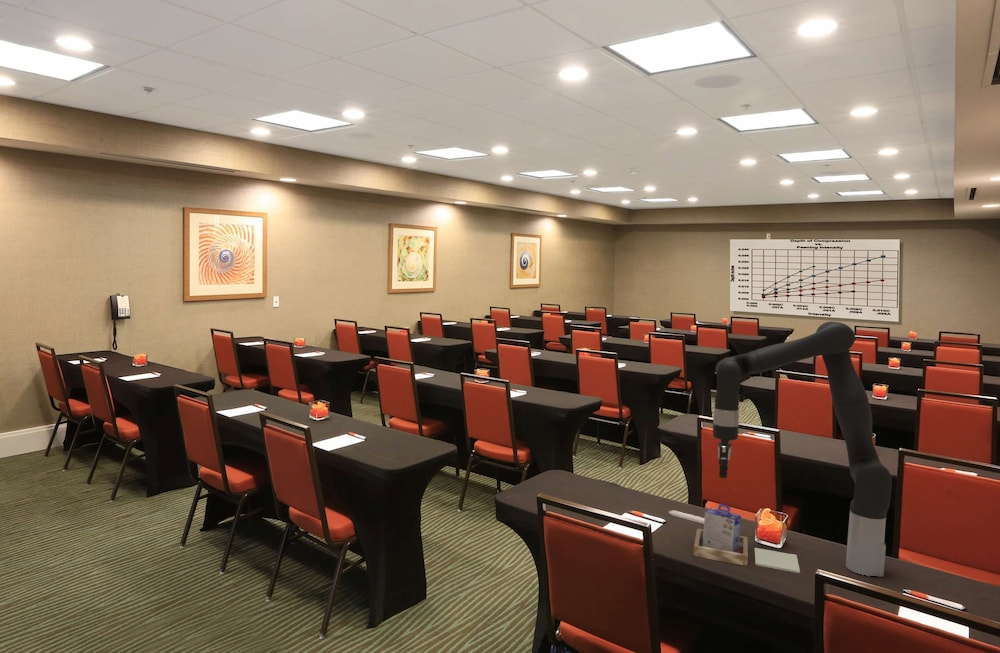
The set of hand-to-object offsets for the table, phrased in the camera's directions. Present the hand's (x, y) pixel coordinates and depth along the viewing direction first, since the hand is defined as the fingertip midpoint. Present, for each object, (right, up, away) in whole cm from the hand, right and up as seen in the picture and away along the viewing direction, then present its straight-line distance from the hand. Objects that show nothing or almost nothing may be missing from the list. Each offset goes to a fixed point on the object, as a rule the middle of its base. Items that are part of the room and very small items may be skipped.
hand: (723, 473), depth 191 cm
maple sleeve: (-1, -24, 0) cm, 24 cm away
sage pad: (+14, -25, -6) cm, 29 cm away
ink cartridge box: (-1, -25, 0) cm, 25 cm away
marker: (-2, -23, +25) cm, 34 cm away
